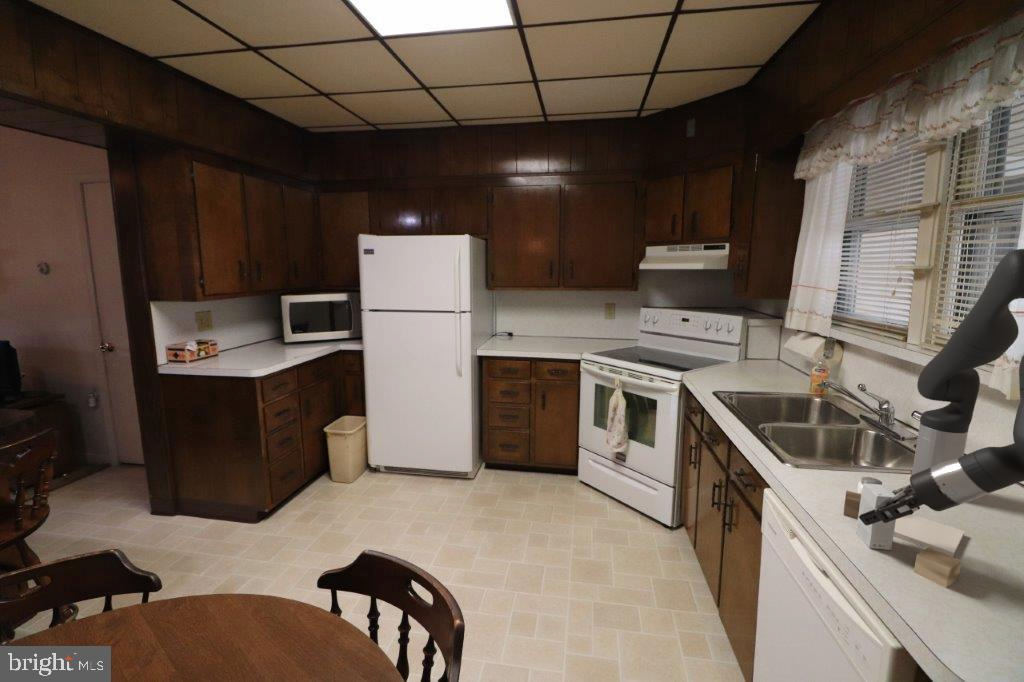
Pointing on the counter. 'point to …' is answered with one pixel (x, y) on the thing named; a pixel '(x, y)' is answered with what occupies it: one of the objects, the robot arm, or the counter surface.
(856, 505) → the walnut block
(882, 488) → the skincare box
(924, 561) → the oak block
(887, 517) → the robot arm
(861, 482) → the white jar
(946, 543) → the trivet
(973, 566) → the counter surface
